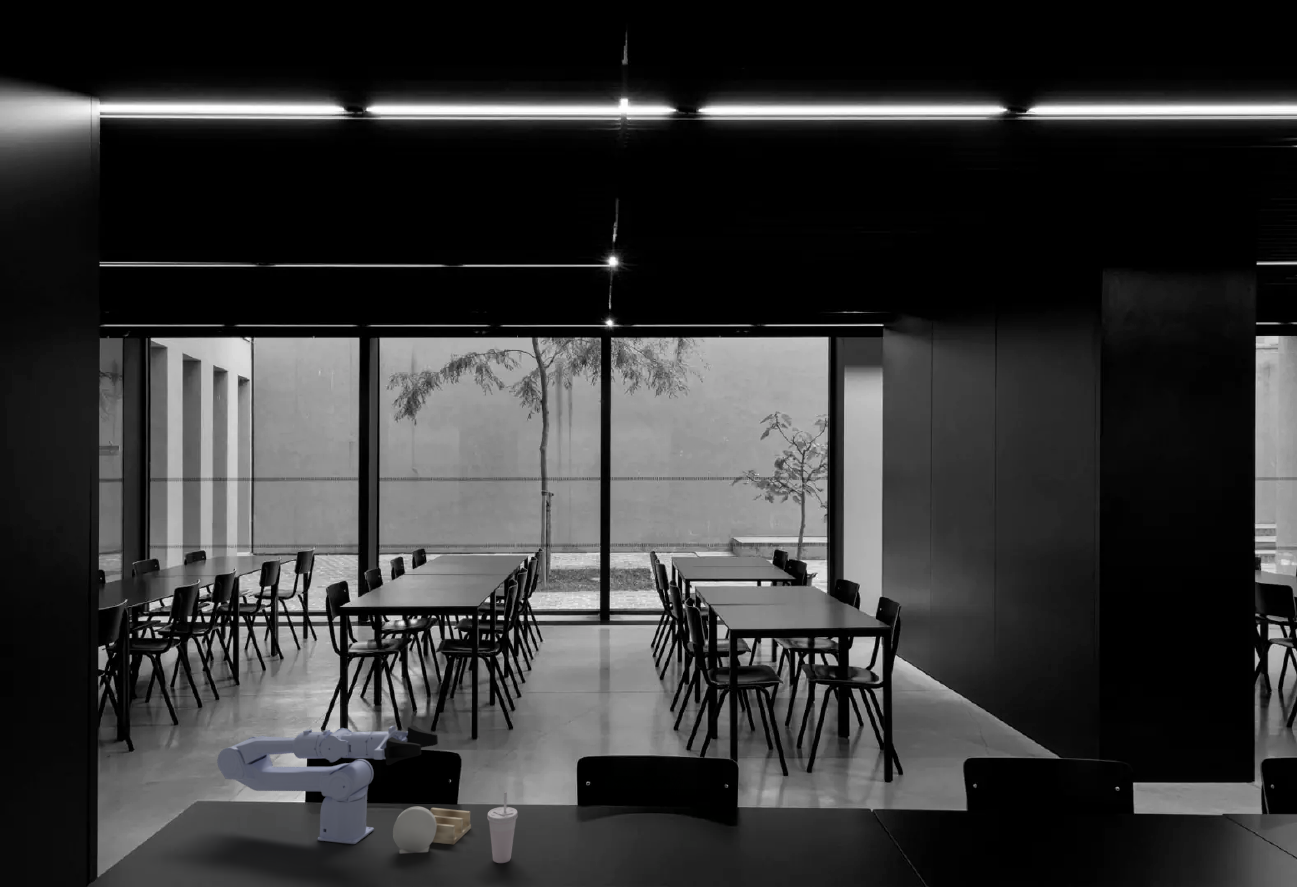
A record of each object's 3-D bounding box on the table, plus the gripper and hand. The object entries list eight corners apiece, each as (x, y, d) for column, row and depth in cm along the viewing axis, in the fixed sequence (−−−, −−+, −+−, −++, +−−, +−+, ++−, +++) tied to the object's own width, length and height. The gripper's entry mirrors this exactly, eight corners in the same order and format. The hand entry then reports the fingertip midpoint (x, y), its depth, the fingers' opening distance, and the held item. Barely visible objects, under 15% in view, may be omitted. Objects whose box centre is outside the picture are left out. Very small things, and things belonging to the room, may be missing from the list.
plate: (392, 854, 174) (393, 811, 175) (393, 849, 176) (394, 807, 177) (435, 851, 175) (436, 809, 176) (436, 847, 177) (437, 805, 178)
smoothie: (510, 867, 168) (511, 798, 169) (481, 864, 170) (482, 796, 170) (521, 853, 175) (522, 787, 175) (493, 851, 176) (494, 785, 177)
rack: (412, 840, 181) (412, 822, 181) (431, 824, 190) (431, 807, 190) (453, 844, 179) (454, 827, 179) (470, 828, 188) (471, 811, 188)
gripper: (354, 736, 176) (411, 735, 173) (389, 718, 190) (442, 717, 188) (356, 769, 176) (413, 769, 173) (390, 748, 190) (444, 748, 187)
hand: (428, 744), depth 180 cm, fingers open, 7 cm apart
